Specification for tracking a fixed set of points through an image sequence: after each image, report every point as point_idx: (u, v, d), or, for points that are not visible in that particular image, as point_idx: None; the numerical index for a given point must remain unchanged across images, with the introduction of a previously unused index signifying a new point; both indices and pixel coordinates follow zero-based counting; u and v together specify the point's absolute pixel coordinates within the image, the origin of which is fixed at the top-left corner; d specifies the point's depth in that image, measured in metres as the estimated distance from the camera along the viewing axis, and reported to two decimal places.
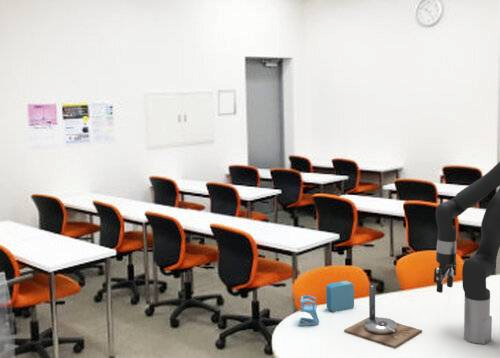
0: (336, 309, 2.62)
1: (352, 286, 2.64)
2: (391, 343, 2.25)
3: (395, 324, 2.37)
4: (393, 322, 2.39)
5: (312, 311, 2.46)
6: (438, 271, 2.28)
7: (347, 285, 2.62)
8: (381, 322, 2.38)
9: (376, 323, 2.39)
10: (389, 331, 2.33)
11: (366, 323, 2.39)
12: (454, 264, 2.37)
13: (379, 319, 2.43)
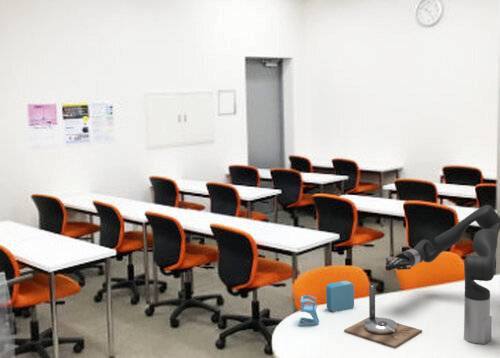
0: (336, 309, 2.62)
1: (352, 286, 2.64)
2: (391, 343, 2.25)
3: (395, 324, 2.37)
4: (393, 322, 2.39)
5: (312, 311, 2.46)
6: (408, 267, 2.51)
7: (347, 285, 2.62)
8: (381, 322, 2.38)
9: (376, 323, 2.39)
10: (389, 331, 2.33)
11: (366, 323, 2.39)
12: None
13: (379, 319, 2.43)
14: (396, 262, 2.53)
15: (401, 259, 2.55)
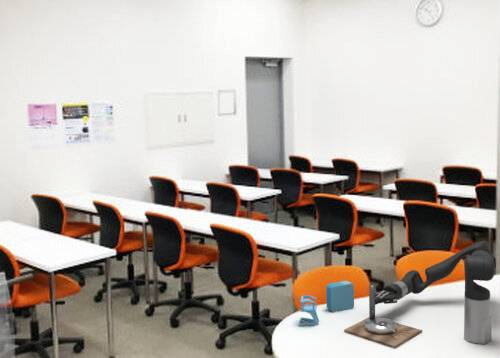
0: (336, 309, 2.62)
1: (352, 286, 2.64)
2: (391, 343, 2.25)
3: (395, 324, 2.37)
4: (393, 322, 2.39)
5: (312, 311, 2.46)
6: (395, 301, 2.46)
7: (347, 285, 2.62)
8: (381, 322, 2.38)
9: (376, 323, 2.39)
10: (389, 331, 2.33)
11: (366, 323, 2.39)
12: (375, 296, 2.54)
13: (379, 319, 2.43)
14: (382, 296, 2.48)
15: (388, 292, 2.49)
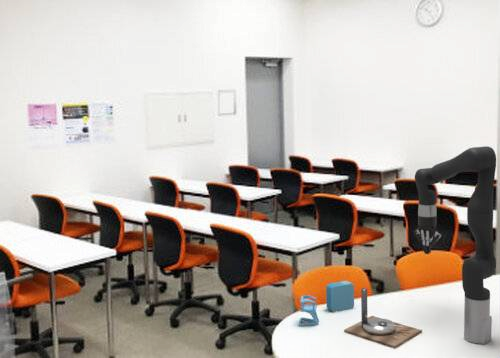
0: (336, 309, 2.62)
1: (352, 286, 2.64)
2: (391, 343, 2.25)
3: (390, 321, 2.40)
4: (385, 320, 2.42)
5: (312, 311, 2.46)
6: None
7: (347, 285, 2.62)
8: (381, 322, 2.37)
9: (376, 325, 2.37)
10: (394, 328, 2.35)
11: (369, 328, 2.34)
12: None
13: (371, 321, 2.41)
14: (427, 240, 2.50)
15: (427, 233, 2.48)
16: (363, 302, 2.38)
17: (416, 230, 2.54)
